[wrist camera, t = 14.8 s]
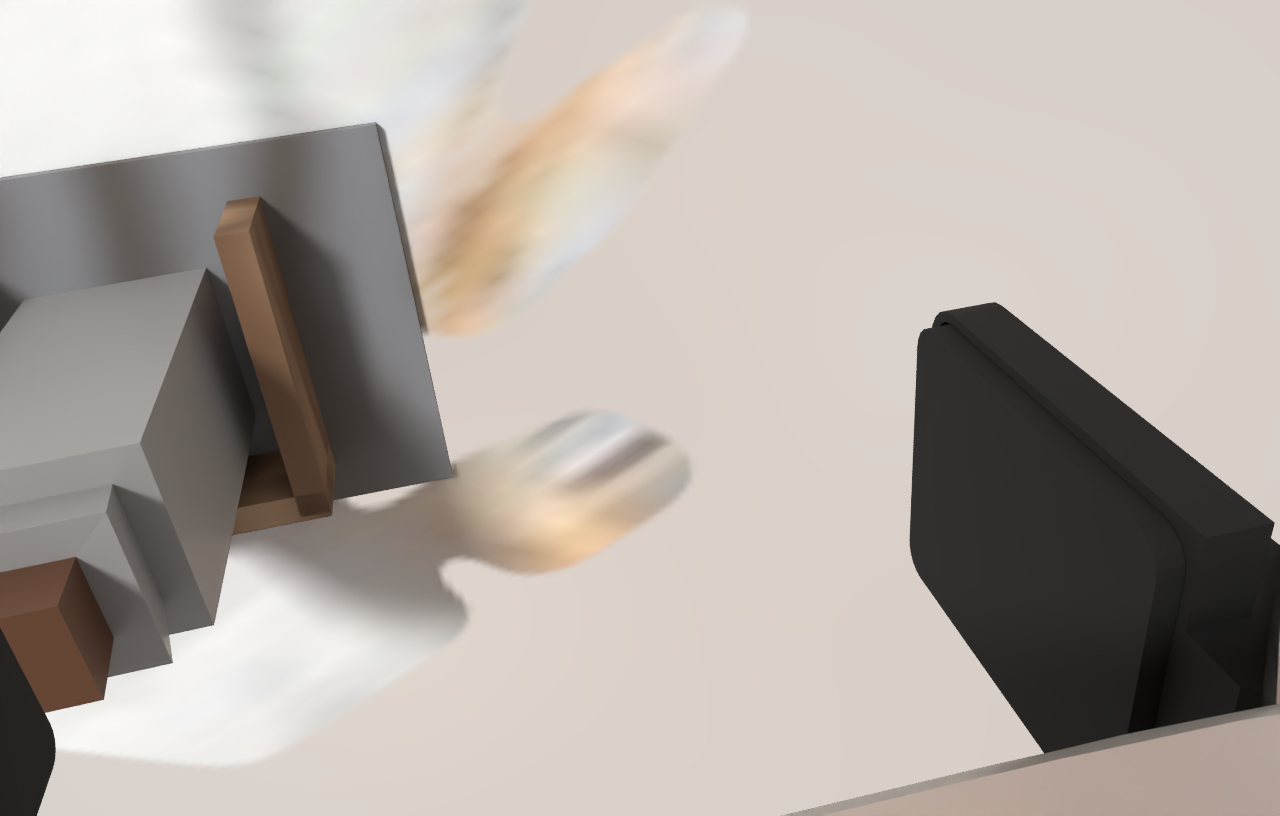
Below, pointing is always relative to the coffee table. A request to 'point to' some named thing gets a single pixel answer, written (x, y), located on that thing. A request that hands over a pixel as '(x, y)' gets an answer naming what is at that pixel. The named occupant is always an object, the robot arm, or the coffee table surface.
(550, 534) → the coffee table surface
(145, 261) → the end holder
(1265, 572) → the robot arm
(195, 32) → the coffee table surface
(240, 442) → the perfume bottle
